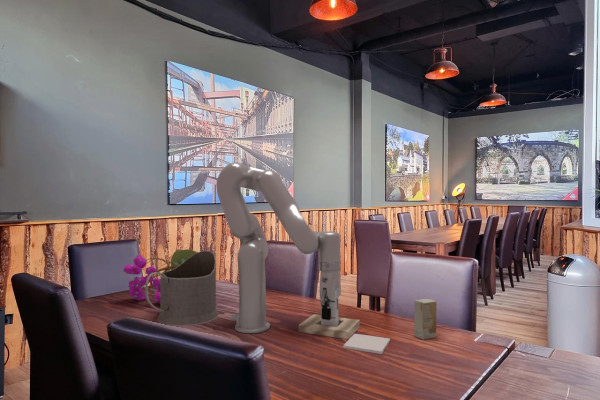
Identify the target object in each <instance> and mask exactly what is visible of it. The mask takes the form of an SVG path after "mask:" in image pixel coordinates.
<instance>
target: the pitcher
mask: <svg viewBox="0 0 600 400" xmlns="http://www.w3.org/2000/svg"><path fill="white" fill-rule="evenodd" d="M196 252H197V253H196V254H194V255H193V256H191V257H190V258H188V259H187V260H186V261H185V262H183V263H182V264H181V265H179V266H178V267H176V268H175V269H173V270H171V269H170V271H167V272H164V271H163V272H164V273H162V272H160V273H158V272H154V273H151V274H150V275H149V276H148V278H147V280H146V284H145V285H144V287H145V290H144V293H145V296H146V298H145V300H146V302H147V303H148V304H149V306H151V307H152V308H153V309H155V310H158V311H159V314H158V316H157V322H158V323H160V324H161V323H162V325H165V324H167V325H166V326H171V325H172V326H173V327H186V326H187V327H189V326H196V325H201V324H205V323H206V324H207V323H209V322H211V321H214V320H216V319H217V318H218V317H219V315H220V314H219V311H218V310H217V271H216V270H217V262H216V261H217V260H216V256H215V253H213V252H212V251H210V250H202V251H196ZM153 274H154V275H157V274H161V275H160V276H159V277H160V278H159V279H160V303H159V304H160V308H159V307H156V306H155V305H154V304H153V303H152V302H151V300H150V298H149V288H148V287H149V284H148V281H149V279H150V277H151V276H152V277H153V276H154V275H153Z"/></svg>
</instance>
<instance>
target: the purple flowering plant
mask: <svg viewBox="0 0 600 400" xmlns="http://www.w3.org/2000/svg"><path fill="white" fill-rule="evenodd" d="M197 252H198V251H196V250H192V249H185V248H184V249H178V250H175V251H174V252H173V253H172V256H171V259H170V261H168V260H166V259H164V258H160V257H150V258H148V259H146V257H145V256H143V255H142V254H141V253H138V254H137V255H136V257H134V258H133V260H132V262H133V264H132V263H130V264H126V265H124V266H123V267H122V269H123V271H122V272H124V273H125V274H127V275H136V276H135V277H133V279H131V280H129V281H128V286H127V287H128V288H129V290H128V291H129V296H130V297H131V298H132V299H133V300H136V301H138V302H140V301H144V300H146V294H145V291H144V289H145V284H146V280H147V278H148V276H149V275H150V274H151V273H154V272H158V273H164V272H167V271H170V270H173V269H175V268H176V267H178V266H179V265H181V264H182V263H183V262H185V261H186V260H187V259H188V258H190V257H191V256H193V255H194V254H196V253H197ZM148 260H149V261H148ZM154 260H160V261H162V262H164V264H162V265H160V266H158V268H155V267H154V266H153V265H150V266H148V267H146V266H147V264H149V263H150V262H152V261H154ZM165 265H167V266H166V267H163V266H165ZM145 267H146V268H145ZM144 268H145V272H144V273H145V276H141V277H139V276H138V275H141V273H142V270H143V269H144ZM160 275H161V274H153V275H152V276H151V277H150V279H149V281H148V289H151V288H154V289H155V290H156V292H155V294H154V296H153V299H154V302H155V301H156V302H157V303H158V304H160V278H157V277H160ZM149 283H152V285H149ZM143 286H144V287H143Z"/></svg>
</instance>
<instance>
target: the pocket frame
mask: <svg viewBox="0 0 600 400" xmlns="http://www.w3.org/2000/svg"><path fill="white" fill-rule="evenodd" d="M360 327H361V319H356V318H354V319H353V318H347V317H340V316H339V326H337V327H333V326H325V325H321V314H315V313H314V314H312V315H311V316H309V317H307V319H305V320H303V321H302V322H301V323H299V324H298V333H303V334H304V333H305V334H311V335H319V336H324V337H331V338H337V339H342V340H349V339H350V338H351V337H352V336H353V335H354V334H356V332H357V330H358V329H360Z"/></svg>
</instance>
